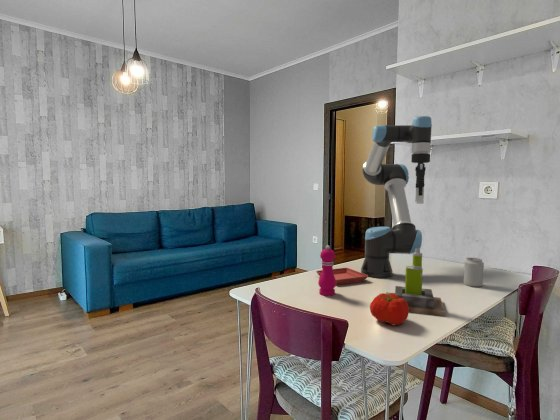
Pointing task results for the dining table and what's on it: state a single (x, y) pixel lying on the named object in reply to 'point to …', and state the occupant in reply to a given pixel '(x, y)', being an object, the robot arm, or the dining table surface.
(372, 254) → the robot arm
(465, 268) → the can
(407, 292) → the vape
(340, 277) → the plant saucer
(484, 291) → the dining table surface
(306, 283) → the dining table surface
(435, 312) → the charging dock
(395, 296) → the tomato
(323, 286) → the pepper mill
